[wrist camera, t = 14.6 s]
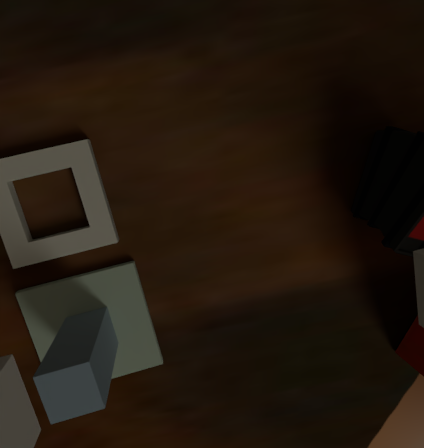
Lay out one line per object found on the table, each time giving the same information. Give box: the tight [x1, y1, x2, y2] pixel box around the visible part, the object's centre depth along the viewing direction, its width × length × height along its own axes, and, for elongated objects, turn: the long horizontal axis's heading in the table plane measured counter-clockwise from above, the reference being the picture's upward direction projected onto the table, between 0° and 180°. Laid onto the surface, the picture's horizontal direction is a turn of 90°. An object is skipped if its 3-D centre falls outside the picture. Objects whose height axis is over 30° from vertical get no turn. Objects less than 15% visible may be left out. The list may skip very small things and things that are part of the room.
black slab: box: [351, 126, 424, 257], centre depth 42 cm, size 4×13×15 cm, turn 166°
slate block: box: [33, 307, 119, 424], centre depth 39 cm, size 5×5×12 cm
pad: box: [15, 260, 163, 379], centre depth 46 cm, size 14×14×1 cm
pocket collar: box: [0, 139, 119, 269], centre depth 42 cm, size 12×12×2 cm
